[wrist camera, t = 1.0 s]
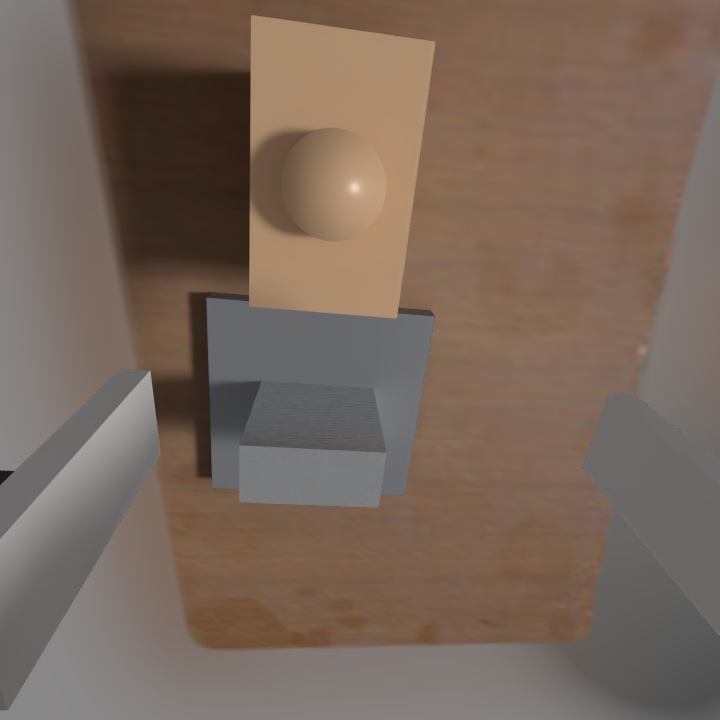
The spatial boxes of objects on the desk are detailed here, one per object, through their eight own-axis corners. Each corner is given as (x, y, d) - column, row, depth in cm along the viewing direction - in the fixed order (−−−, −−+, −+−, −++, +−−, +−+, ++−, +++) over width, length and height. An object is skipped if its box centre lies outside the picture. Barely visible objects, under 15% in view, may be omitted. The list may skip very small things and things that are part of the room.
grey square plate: (211, 292, 31) (161, 340, 22) (430, 310, 33) (470, 362, 23) (216, 476, 37) (179, 574, 28) (401, 484, 39) (423, 580, 29)
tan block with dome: (279, 73, 26) (243, -1, 16) (399, 88, 27) (444, 29, 16) (273, 268, 31) (243, 316, 20) (377, 277, 31) (401, 328, 21)
